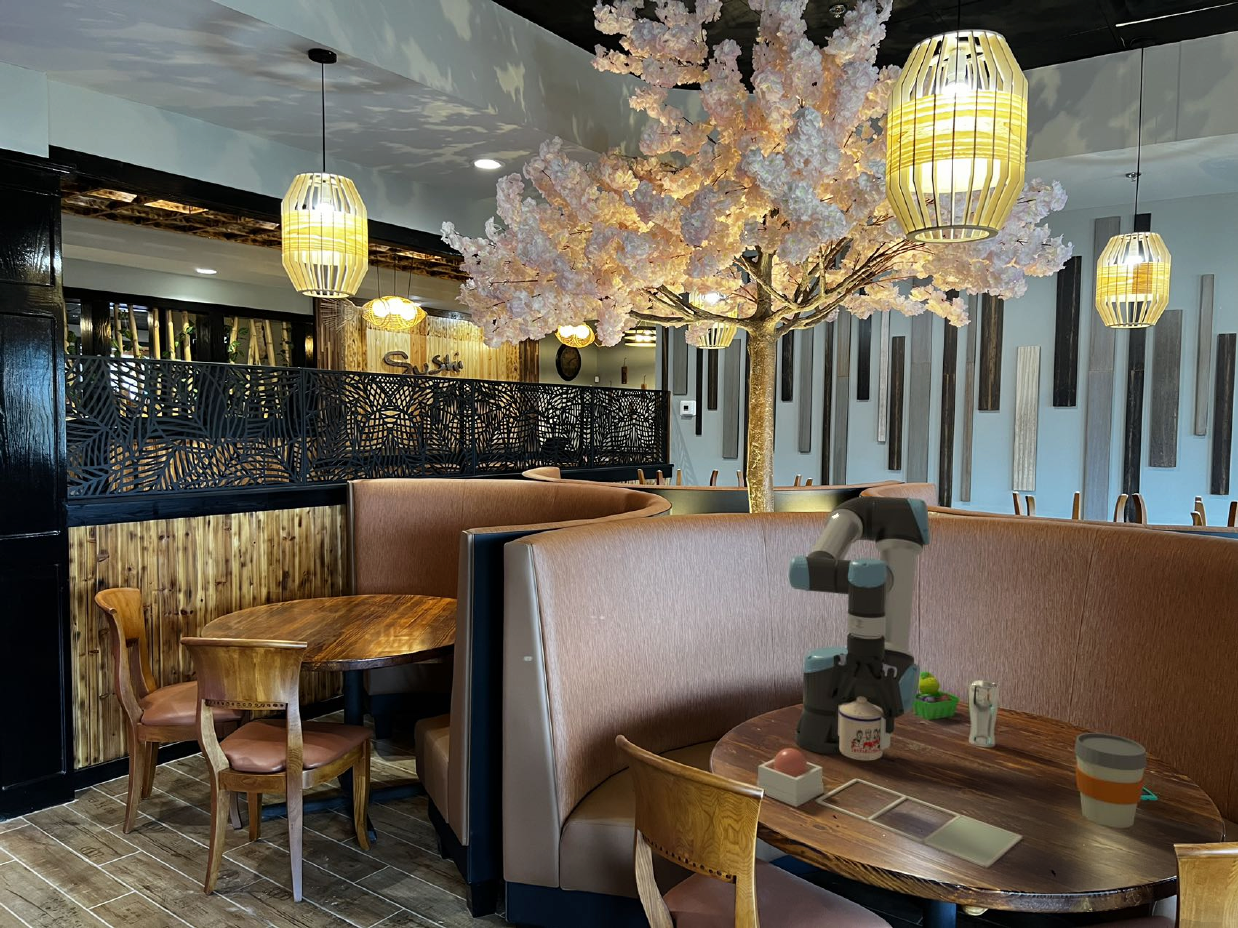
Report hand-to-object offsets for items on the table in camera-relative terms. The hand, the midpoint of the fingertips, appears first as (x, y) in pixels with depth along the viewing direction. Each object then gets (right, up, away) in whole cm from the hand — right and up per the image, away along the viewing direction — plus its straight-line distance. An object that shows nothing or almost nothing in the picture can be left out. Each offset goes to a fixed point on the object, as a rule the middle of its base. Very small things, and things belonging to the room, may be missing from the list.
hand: (863, 740), depth 174 cm
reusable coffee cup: (+47, -14, -6) cm, 50 cm away
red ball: (-15, -10, +4) cm, 18 cm away
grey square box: (-15, -12, +4) cm, 19 cm away
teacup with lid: (+1, -2, 0) cm, 3 cm away
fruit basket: (+35, -11, +54) cm, 65 cm away
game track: (+8, -13, -8) cm, 17 cm away
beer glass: (+39, -12, +33) cm, 52 cm away
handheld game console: (+58, -14, +10) cm, 61 cm away
